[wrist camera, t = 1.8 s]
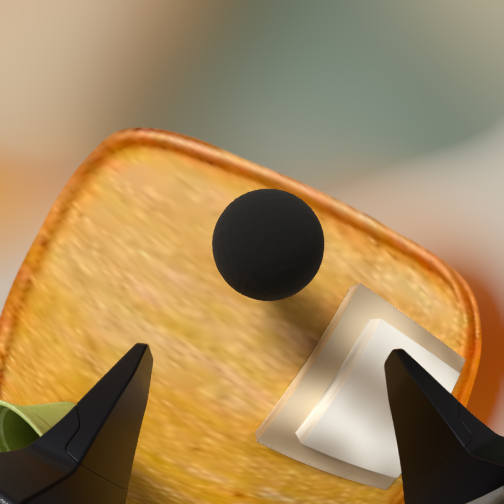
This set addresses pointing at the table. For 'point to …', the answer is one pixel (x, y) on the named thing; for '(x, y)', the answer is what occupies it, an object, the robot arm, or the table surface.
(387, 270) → the table surface
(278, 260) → the light bulb
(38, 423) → the plant pot
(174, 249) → the table surface
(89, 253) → the table surface
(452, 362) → the stepped stand
